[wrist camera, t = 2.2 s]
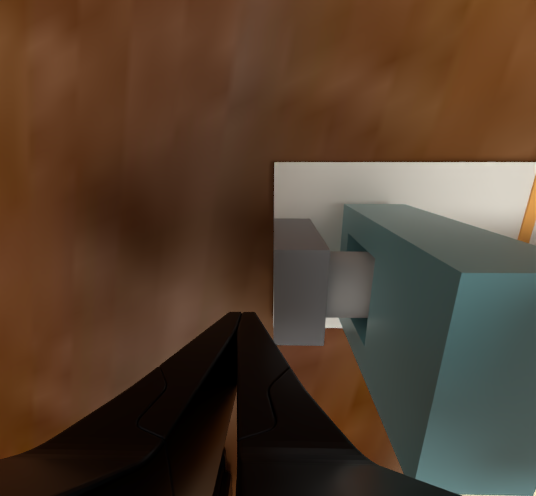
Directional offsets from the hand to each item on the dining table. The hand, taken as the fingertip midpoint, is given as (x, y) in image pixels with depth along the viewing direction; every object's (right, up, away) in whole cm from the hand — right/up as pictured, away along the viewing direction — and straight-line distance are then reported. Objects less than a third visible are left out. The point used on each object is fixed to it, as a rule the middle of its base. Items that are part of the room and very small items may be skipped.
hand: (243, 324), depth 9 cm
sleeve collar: (+6, +2, +6) cm, 9 cm away
